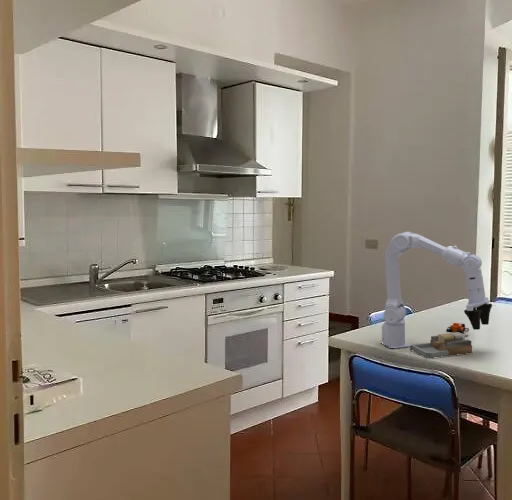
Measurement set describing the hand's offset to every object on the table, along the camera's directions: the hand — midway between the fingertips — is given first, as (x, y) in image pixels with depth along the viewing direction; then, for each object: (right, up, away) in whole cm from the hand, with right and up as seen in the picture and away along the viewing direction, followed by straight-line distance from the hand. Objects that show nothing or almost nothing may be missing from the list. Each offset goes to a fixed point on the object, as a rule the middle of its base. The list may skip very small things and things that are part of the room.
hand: (481, 326), depth 198 cm
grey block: (-6, -7, +8) cm, 12 cm away
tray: (-17, -10, +6) cm, 21 cm away
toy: (+2, -8, +28) cm, 30 cm away
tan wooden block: (-10, -7, +7) cm, 14 cm away
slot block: (-8, -10, +8) cm, 15 cm away
